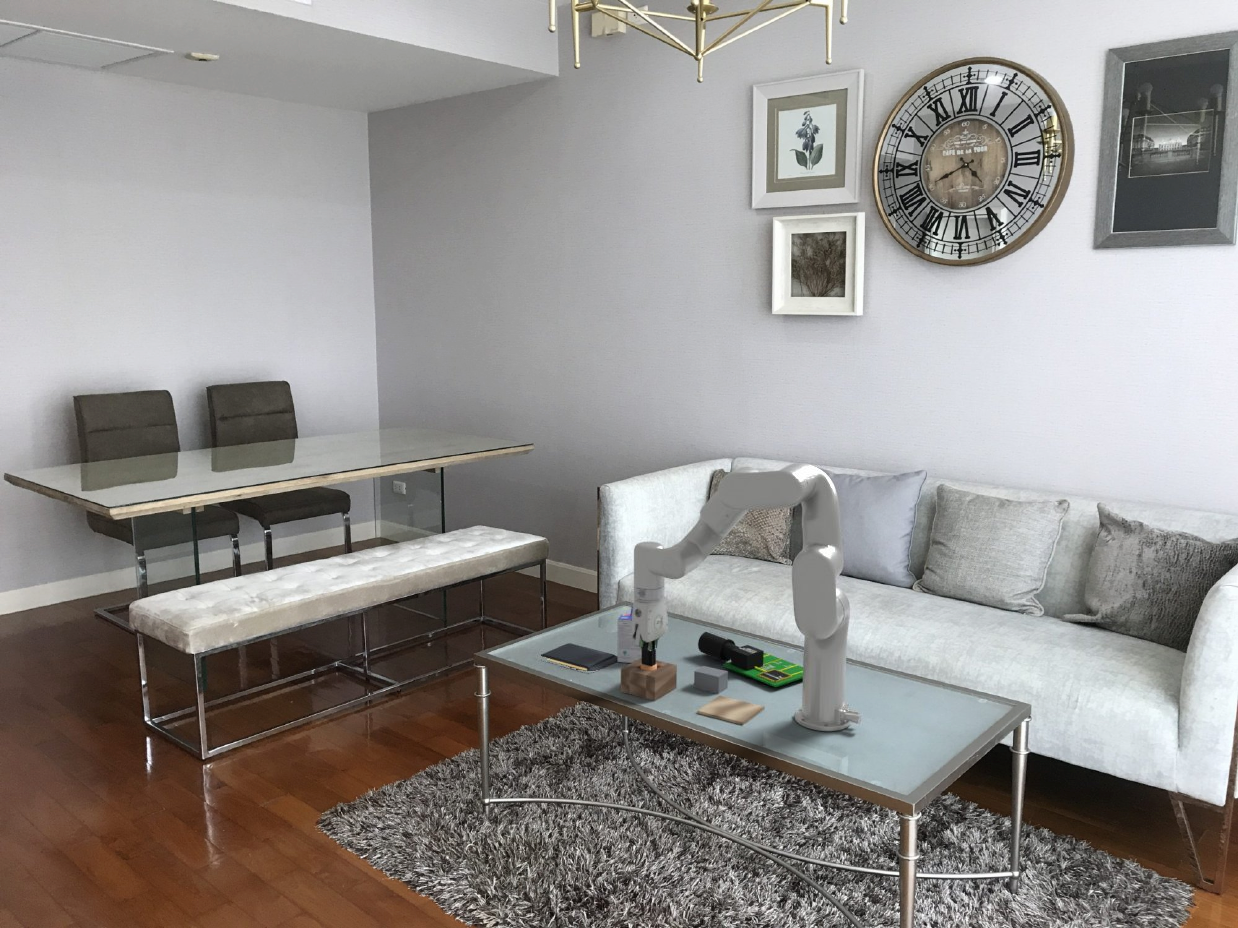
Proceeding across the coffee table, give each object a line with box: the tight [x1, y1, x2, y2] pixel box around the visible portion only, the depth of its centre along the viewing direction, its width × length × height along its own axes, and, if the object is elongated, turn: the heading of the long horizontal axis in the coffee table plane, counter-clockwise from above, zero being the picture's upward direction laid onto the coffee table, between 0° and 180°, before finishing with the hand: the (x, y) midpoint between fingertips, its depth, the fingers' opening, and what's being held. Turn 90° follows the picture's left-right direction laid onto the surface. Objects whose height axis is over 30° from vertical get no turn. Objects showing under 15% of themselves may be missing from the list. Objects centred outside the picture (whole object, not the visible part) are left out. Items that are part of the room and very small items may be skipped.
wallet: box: [540, 642, 618, 672], centre depth 266 cm, size 20×2×15 cm
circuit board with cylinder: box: [697, 630, 803, 688], centre depth 258 cm, size 30×7×15 cm
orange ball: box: [641, 663, 657, 672], centre depth 243 cm, size 4×4×4 cm
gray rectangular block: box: [693, 665, 729, 695], centre depth 245 cm, size 7×4×4 cm, turn 55°
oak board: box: [696, 695, 765, 726], centre depth 231 cm, size 12×11×1 cm
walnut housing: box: [620, 658, 678, 702], centre depth 243 cm, size 10×10×6 cm
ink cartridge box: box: [616, 606, 645, 664], centre depth 263 cm, size 10×6×14 cm, turn 79°
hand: (648, 664), depth 243 cm, fingers closed
